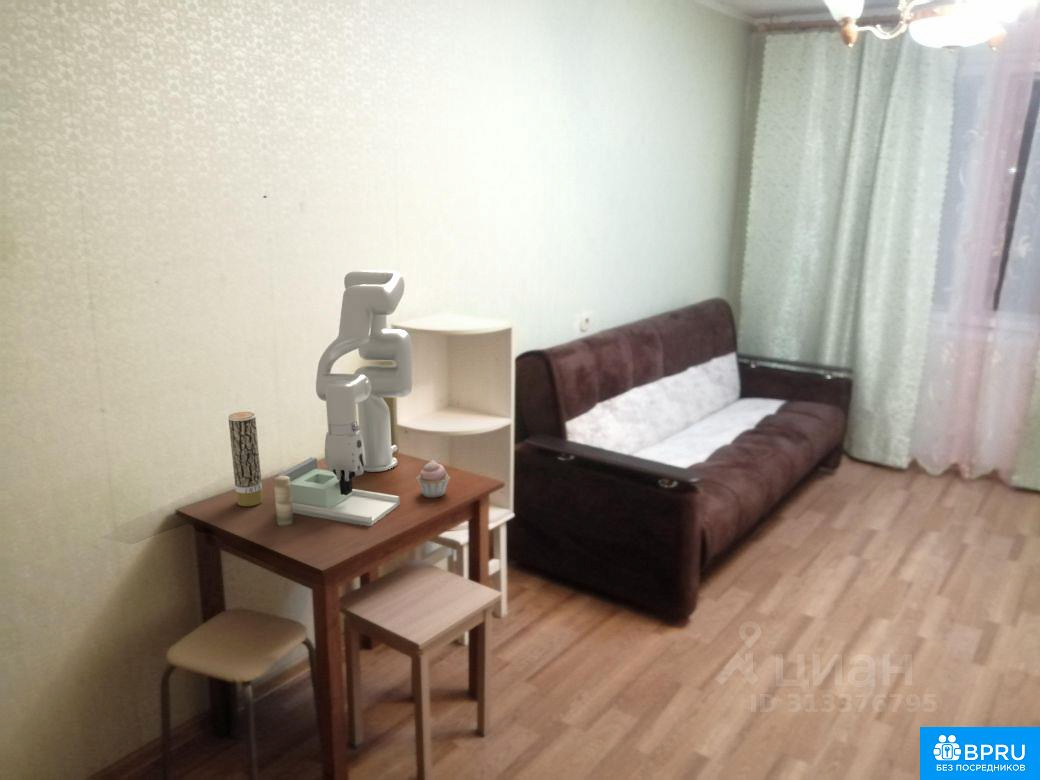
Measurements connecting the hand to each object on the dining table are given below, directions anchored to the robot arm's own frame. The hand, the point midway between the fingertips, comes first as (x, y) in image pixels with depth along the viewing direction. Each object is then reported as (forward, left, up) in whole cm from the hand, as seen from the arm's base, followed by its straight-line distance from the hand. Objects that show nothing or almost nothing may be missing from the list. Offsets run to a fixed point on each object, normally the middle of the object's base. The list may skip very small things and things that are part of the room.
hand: (346, 493), depth 210 cm
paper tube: (+6, -27, -5) cm, 28 cm away
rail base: (0, -2, -5) cm, 5 cm away
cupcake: (-18, +17, -5) cm, 25 cm away
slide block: (0, -8, -3) cm, 9 cm away
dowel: (+13, -10, -4) cm, 17 cm away
